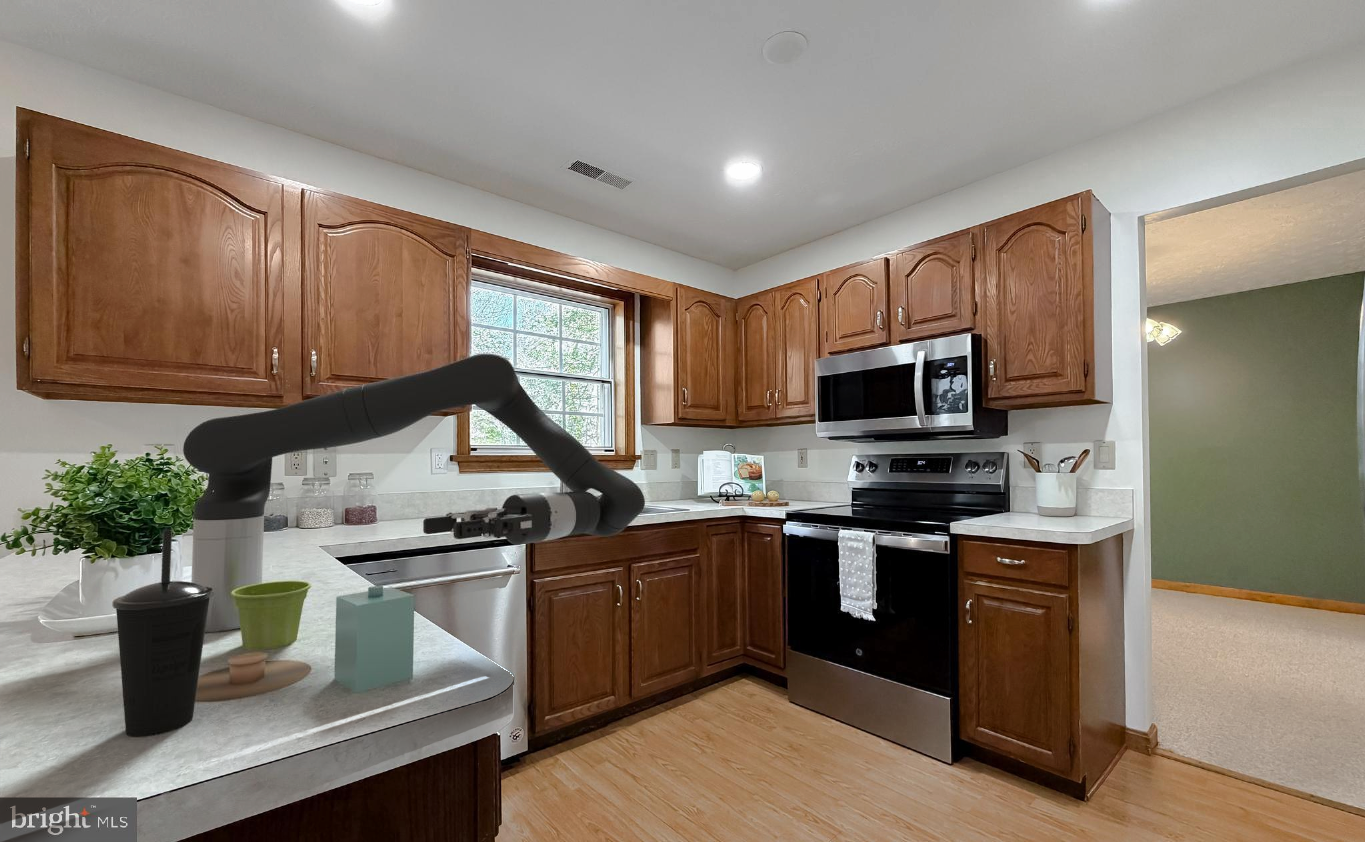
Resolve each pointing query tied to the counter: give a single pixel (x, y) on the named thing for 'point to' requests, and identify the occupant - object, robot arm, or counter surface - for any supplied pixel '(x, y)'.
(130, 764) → the counter surface
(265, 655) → the ramekin
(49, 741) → the counter surface
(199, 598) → the drinking cup
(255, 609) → the plant pot
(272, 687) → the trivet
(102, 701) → the counter surface
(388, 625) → the teal flask block
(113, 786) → the counter surface
